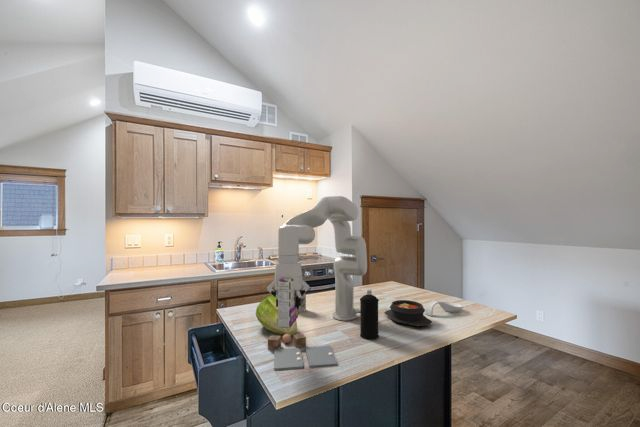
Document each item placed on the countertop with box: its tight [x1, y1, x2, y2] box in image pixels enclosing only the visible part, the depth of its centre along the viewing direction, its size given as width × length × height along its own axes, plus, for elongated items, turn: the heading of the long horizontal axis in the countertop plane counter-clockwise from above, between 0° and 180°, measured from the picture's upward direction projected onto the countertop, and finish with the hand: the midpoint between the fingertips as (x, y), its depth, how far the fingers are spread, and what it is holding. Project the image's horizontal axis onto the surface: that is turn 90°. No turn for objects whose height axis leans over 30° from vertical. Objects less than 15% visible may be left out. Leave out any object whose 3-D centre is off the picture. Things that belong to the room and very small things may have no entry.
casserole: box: [383, 299, 433, 327], centre depth 142 cm, size 25×19×8 cm
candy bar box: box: [278, 279, 299, 328], centre depth 103 cm, size 11×5×16 cm, turn 170°
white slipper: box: [424, 299, 464, 317], centre depth 154 cm, size 24×12×7 cm, turn 118°
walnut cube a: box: [292, 333, 307, 349], centre depth 113 cm, size 4×4×4 cm
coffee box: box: [298, 280, 307, 314], centre depth 157 cm, size 9×6×16 cm
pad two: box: [273, 347, 305, 371], centre depth 103 cm, size 10×14×1 cm
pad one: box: [304, 345, 339, 368], centre depth 104 cm, size 10×14×1 cm
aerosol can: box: [359, 289, 380, 341], centre depth 123 cm, size 8×8×20 cm
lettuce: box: [255, 294, 298, 336], centre depth 129 cm, size 15×24×16 cm
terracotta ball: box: [282, 334, 292, 344], centre depth 116 cm, size 4×4×4 cm
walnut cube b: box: [267, 335, 282, 351], centre depth 112 cm, size 4×4×4 cm
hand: (288, 308), depth 103 cm, fingers closed on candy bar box, 6 cm apart
